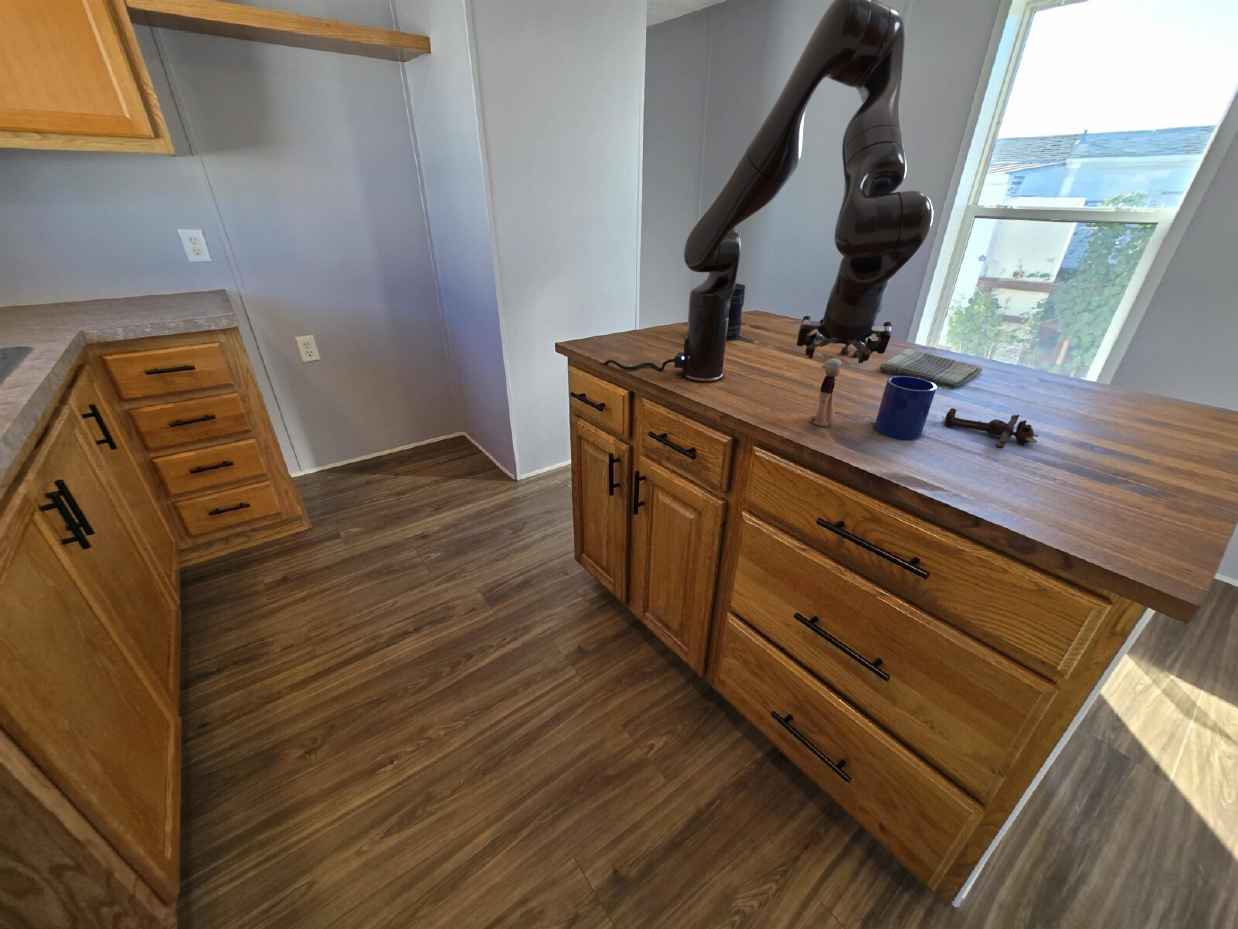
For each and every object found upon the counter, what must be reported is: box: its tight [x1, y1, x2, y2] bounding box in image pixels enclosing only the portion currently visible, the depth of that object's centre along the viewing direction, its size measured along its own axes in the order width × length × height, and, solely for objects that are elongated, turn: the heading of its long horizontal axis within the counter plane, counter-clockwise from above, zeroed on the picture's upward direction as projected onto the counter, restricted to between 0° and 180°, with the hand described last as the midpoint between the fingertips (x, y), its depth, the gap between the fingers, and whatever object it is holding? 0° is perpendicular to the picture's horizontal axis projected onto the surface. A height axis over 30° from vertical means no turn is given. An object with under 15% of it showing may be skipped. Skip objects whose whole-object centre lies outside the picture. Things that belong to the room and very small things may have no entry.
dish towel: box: [879, 348, 983, 389], centre depth 125 cm, size 19×18×3 cm
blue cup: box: [874, 375, 938, 441], centre depth 94 cm, size 8×8×10 cm
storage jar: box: [726, 283, 746, 342], centre depth 151 cm, size 10×10×15 cm
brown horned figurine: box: [944, 407, 1039, 450], centre depth 95 cm, size 18×4×14 cm
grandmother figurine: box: [813, 357, 842, 428], centre depth 97 cm, size 8×4×13 cm, turn 169°
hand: (835, 356), depth 92 cm, fingers open, 8 cm apart
